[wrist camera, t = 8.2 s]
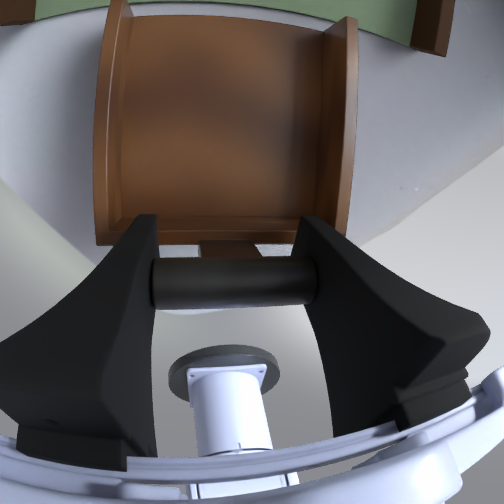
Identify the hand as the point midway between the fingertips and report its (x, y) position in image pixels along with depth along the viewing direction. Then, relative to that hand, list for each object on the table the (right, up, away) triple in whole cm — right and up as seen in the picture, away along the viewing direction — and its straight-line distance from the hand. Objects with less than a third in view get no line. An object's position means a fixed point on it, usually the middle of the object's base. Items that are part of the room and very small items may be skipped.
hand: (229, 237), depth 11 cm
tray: (-1, +5, +2) cm, 5 cm away
